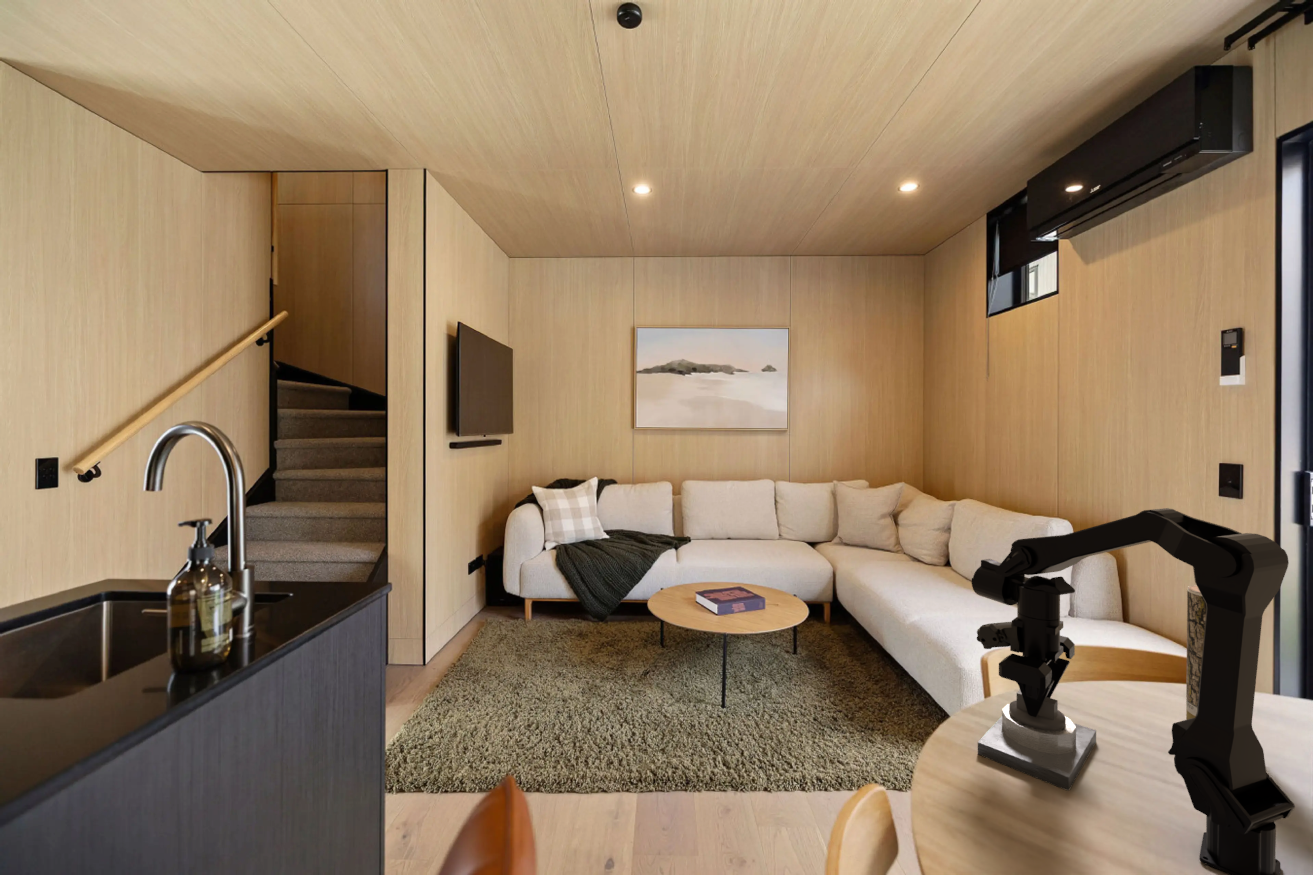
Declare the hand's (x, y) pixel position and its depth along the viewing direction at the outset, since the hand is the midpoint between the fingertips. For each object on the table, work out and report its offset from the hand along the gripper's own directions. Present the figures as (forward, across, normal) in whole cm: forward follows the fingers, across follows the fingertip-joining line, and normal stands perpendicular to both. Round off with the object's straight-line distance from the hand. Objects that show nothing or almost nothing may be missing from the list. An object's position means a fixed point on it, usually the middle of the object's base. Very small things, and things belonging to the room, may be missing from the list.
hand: (1038, 708), depth 90 cm
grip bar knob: (+4, 0, 0) cm, 4 cm away
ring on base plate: (+6, 0, 0) cm, 6 cm away
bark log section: (+7, -24, +19) cm, 31 cm away
